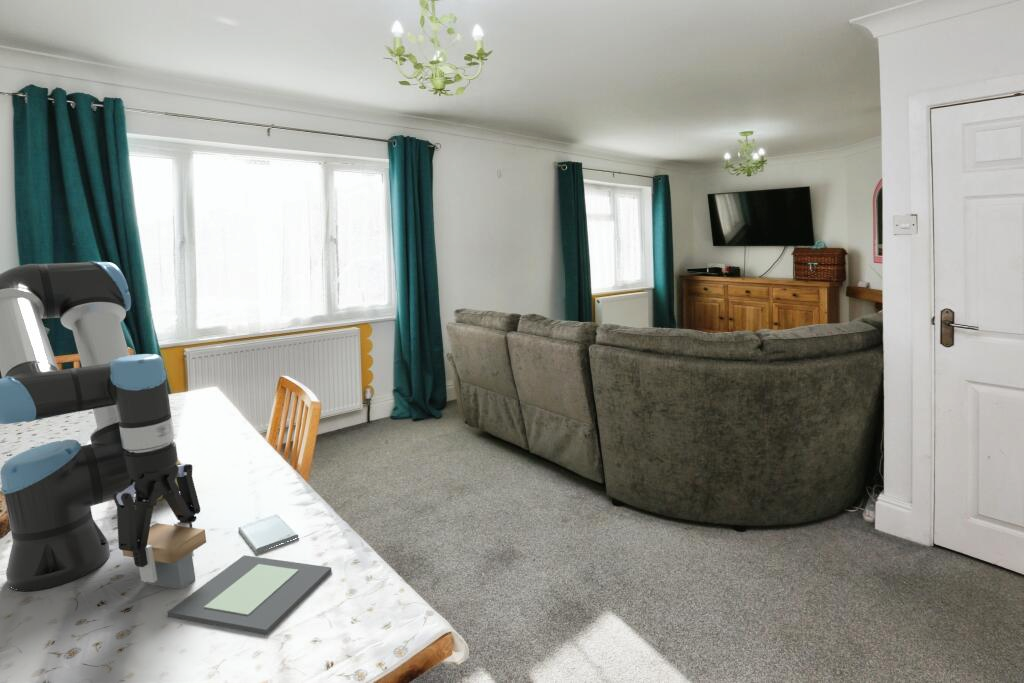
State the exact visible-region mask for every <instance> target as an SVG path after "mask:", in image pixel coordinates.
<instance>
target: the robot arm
mask: <svg viewBox="0 0 1024 683" xmlns="http://www.w3.org/2000/svg"><path fill="white" fill-rule="evenodd" d="M131 306H132V298H131V294H130V291H129V285H128V283H127V279H126V278H125V276H124V274H123V271H121V269H120V268H119V267H118V266H117V265H116V264H115V263H113V262H108V261H94V260H89V261H87V262H65V263H64V262H61V263H28V264H23V265H17V266H15V267H12V268H10V269H7V270H5V271H3V272H1V273H0V375H1V378H0V425H10V424H18V423H30V422H34V421H38V420H43V419H47V418H53V417H57V416H63V415H68V414H72V413H73V414H74V413H80V412H85V411H91V410H92V411H93V415H94V420H95V423H96V429H94V431H93V432H92V433H91V434H90V437H89V439H90V443H89V444H85V445H82V444H81V443H80V442H79V441H78V440H77V439H64V440H58V441H57V440H56V441H53V442H49V443H45V444H41V445H38V446H35V447H33V448H30V449H27V450H25V451H22V452H20V453H18V454H16V455H15V456H13V457H11V458H10V459H8V460H7V461H5V462H4V464H3V465H2V466H1V469H0V482H1V488H0V491H1V493H2V494H3V496H4V501H5V505H6V511H7V518H8V521H9V528H10V532H11V538H12V544H11V548H10V554H9V558H8V563H7V568H6V571H5V574H6V581H7V586H8V585H9V586H10V587H12V588H14V589H17V590H16V591H19V590H32V591H37V590H38V591H39V590H44V588H45V589H49V588H53V587H57V586H60V585H63V584H66V583H69V582H71V581H74V580H77V579H79V578H81V577H83V576H85V575H87V574H89V573H91V572H93V571H95V570H96V569H98V568H99V567H100V566H102V565H103V564H104V563H105V562H106V561H107V560H108V559H109V557H110V555H111V551H110V550H111V548H110V544H109V540H108V539H107V537H106V536H105V535H104V533H103V532H102V531H101V529H100V527H99V526H98V524H97V522H96V521H95V520H94V518H93V514H92V513H93V512H92V507H93V506H96V505H99V504H103V503H106V502H110V501H114V503H115V505H116V516H117V517H116V518H117V520H116V521H117V538H118V539H117V540H118V550H121V551H122V550H125V551H133V557H134V558H133V557H132V558H133V561H134V566H135V567H138V569H139V574H140V575H139V576H140V581H141V582H145V581H146V582H152V583H154V582H155V581H157V574H156V568H155V562H154V556H153V550H152V545H147V542H148V536H149V530H150V526H151V523H152V517H153V512H154V511H153V510H154V508H155V507H156V506H157V503H158V501H157V499H158V498H159V497H161V496H162V495H163V499H165V501H166V503H167V504H168V506H169V507H170V509H171V511H172V512H173V515H174V516H175V518H176V519H177V520H178V521H177V522H175V523H173V525H174V526H182V527H190V528H194V527H193V523H195V522H197V516H196V515H198V514H200V512H201V506H200V503H199V498H198V495H197V489H196V486H195V483H194V479H193V465H192V464H188V463H181V462H180V463H179V464H178V465H176V462H177V460H179V458H178V452H177V444H176V442H175V441H174V439H175V432H174V425H173V417H172V412H171V404H170V398H169V390H168V382H167V381H168V380H167V377H168V373H167V371H166V369H165V363H164V360H163V358H162V357H161V356H160V355H159V354H155V353H153V354H152V353H142V354H141V353H140V354H132V355H130V351H129V348H128V344H127V342H126V338H125V334H124V330H123V327H122V324H121V323H122V322H123V321H124V320H125V318H126V317H127V316H126V315H127V312H128V311H129V310H130V309H131ZM55 318H56V319H57V318H58V319H60V323H61V325H62V326H63V327H64V328H66V329H68V330H70V331H72V334H73V337H74V338H73V339H74V342H75V345H76V350H77V353H78V357H79V361H80V365H81V367H75V368H74V367H72V368H66V369H59V365H58V363H57V360H56V357H55V355H54V351H53V349H52V346H51V344H50V343H51V342H50V339H49V337H48V335H47V331H46V328H45V325H44V323H43V320H45V319H55ZM42 319H43V320H42ZM175 479H177V483H178V486H177V484H176V482H175ZM178 487H179V488H178ZM138 540H139V541H138ZM194 556H195V554H194V551H192V558H194ZM146 582H145V583H146ZM9 586H8V587H9ZM10 587H9V588H10ZM12 588H11V589H12ZM14 589H13V590H14Z"/></svg>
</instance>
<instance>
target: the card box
mask: <svg viewBox="0 0 1024 683" xmlns="http://www.w3.org/2000/svg"><path fill="white" fill-rule="evenodd" d="M138 541H139V540H138ZM206 543H207V537H206V529H204V528H199V527H198V528H196V527H193V528H190V527H182V526H174V524H168V523H167V524H166V523H158V522H156V523H154V524H152V525H150V530H149V536H148V542H147V545H152V550H153V556H154V561H159V562H166V563H172V564H174V563H175V562H177V561H179V560H180V559H182V558H183V557H185V556H186V555H188V554H189V553H191V552H192V551H193V552H194V551H196V550H197V549H198V548H200V547H202V546H203V545H205V544H206ZM121 551H122V556H123V557H127V558H133V559H134V557H133V551H125V550H121Z"/></svg>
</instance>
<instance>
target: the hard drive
mask: <svg viewBox="0 0 1024 683" xmlns="http://www.w3.org/2000/svg"><path fill="white" fill-rule="evenodd" d="M238 532H239V533H240V534H242V535H241V536H242V537H243V539H244V538H245V539H244V540H245V541H246V543H247V544H248V543H249V544H248V545H249V546H250V548H251V547H252V548H251V549H252V550H253V552H254V553H255V554H257V553H258V554H260V552H261V553H263V552H265V551H264V550H266V549H269V548H271V547H274V546H276V545H279V544H281V543H285V542H287V541H290V540H293V539H295V538H298V537H299V534H298V533H296V531H295V530H294V529H293V528H292V527H291V525H289V524H288V523H287V522H286V521H285V520H284V518H282V517H281V516H280V515H279V513H278V514H277V513H275V514H273V515H269V516H266V517H263V518H260V519H257V520H254V521H252V522H248V523H245V524H243V525H240V526H239V527H238ZM269 550H270V549H269ZM262 551H263V552H262ZM266 551H267V550H266ZM258 554H257V555H258Z"/></svg>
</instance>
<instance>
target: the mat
mask: <svg viewBox="0 0 1024 683" xmlns="http://www.w3.org/2000/svg"><path fill="white" fill-rule="evenodd" d="M331 571H332V567H330V566H323V565H317V564H308V563H302V562H296V561H295V562H294V561H288V560H287V561H286V560H282V559H281V560H279V559H272V558H267V557H266V558H265V557H260V556H259V557H258V556H250V555H245V554H244V555H242V556H240V557H239V558H238V559H237V560H236V561H234V562H233V563H232V564H230V565H229V566H227V567H226V568H224V569H223V570H222V571H221V572H220V573H218V574H217V575H215V576H213V578H212V579H210V580H209V581H207V582H206V583H204V584H203V585H202V586H200V587H199V588H197V589H195V591H194V592H192V593H191V594H190V595H188V596H187V597H185V598H184V599H182V600H181V601H180V602H179V603H177V604H175V605H174V606H173V607H171V609H169V610H168V611H167V617H168V618H174V619H175V618H176V619H180V620H186V621H189V622H197V623H201V624H207V625H214V626H219V627H223V628H230V629H233V630H234V629H235V630H238V631H239V630H240V631H245V632H250V633H251V632H252V633H257V634H262V635H268V634H269V633H270V632H271V631H272V630H273V629H275V627H276V626H277V625H279V623H281V621H282V620H284V619H285V617H287V616H288V615H289V613H291V612H292V610H294V609H295V608H296V607H297V606H298V605H299V604H300V603H301V602H302V601H303V600H304V599H305V598H306V597H307V596H308V595H309V594H310V593H311V592H312V591H314V589H315V588H317V587H318V585H319V584H320V583H321V582H323V581H324V579H325V578H327V577H328V576H329V575H330V572H331Z"/></svg>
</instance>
